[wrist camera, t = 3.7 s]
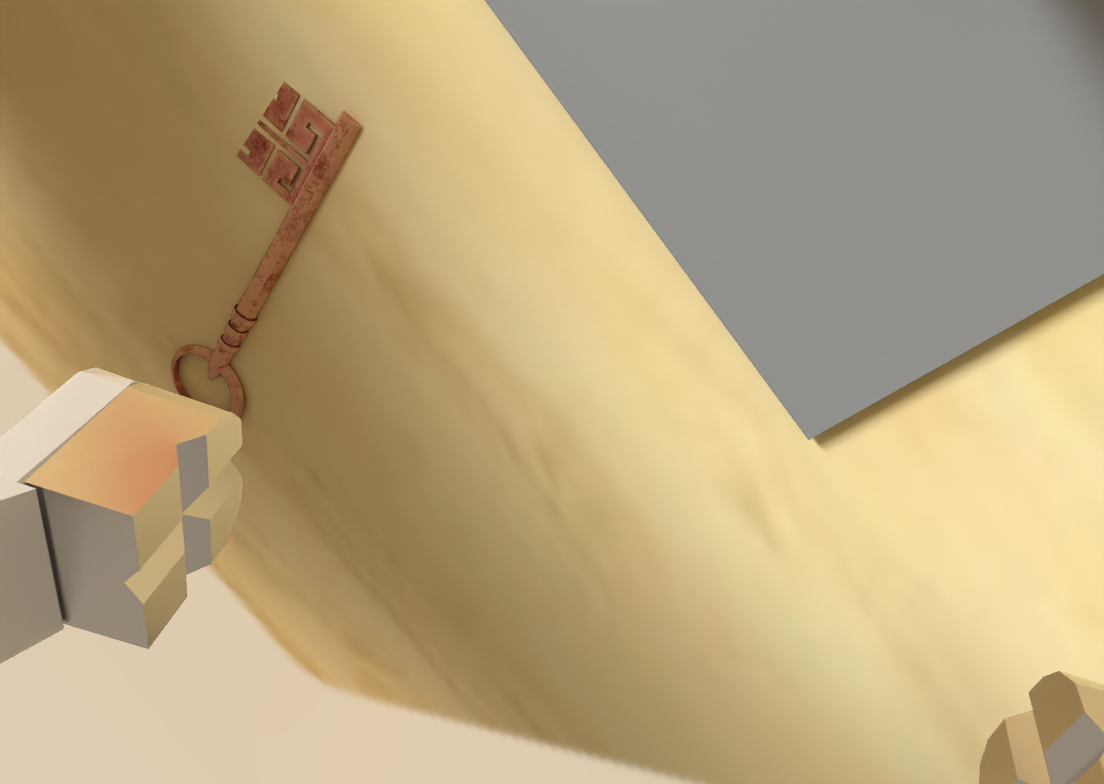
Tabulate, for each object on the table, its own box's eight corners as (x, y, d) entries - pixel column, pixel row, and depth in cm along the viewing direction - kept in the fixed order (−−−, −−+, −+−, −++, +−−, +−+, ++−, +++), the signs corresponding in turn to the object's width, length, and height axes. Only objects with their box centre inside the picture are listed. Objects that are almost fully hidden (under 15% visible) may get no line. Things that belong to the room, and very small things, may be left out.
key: (284, 51, 32) (140, 348, 39) (267, 49, 31) (122, 353, 38) (399, 154, 31) (232, 438, 38) (385, 155, 31) (217, 445, 37)
